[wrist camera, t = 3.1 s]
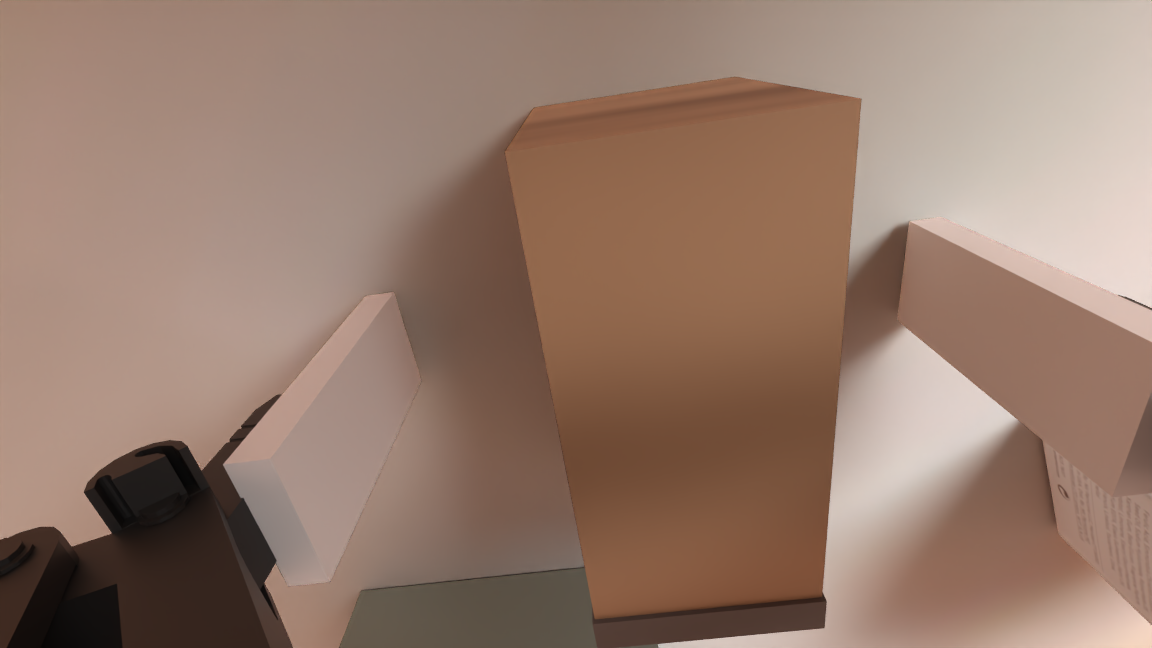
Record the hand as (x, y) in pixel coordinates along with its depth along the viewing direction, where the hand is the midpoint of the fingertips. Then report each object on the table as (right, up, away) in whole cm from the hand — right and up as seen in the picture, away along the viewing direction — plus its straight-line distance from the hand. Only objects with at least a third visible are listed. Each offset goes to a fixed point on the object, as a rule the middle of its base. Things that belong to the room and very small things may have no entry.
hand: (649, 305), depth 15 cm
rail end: (0, 0, 0) cm, 0 cm away
